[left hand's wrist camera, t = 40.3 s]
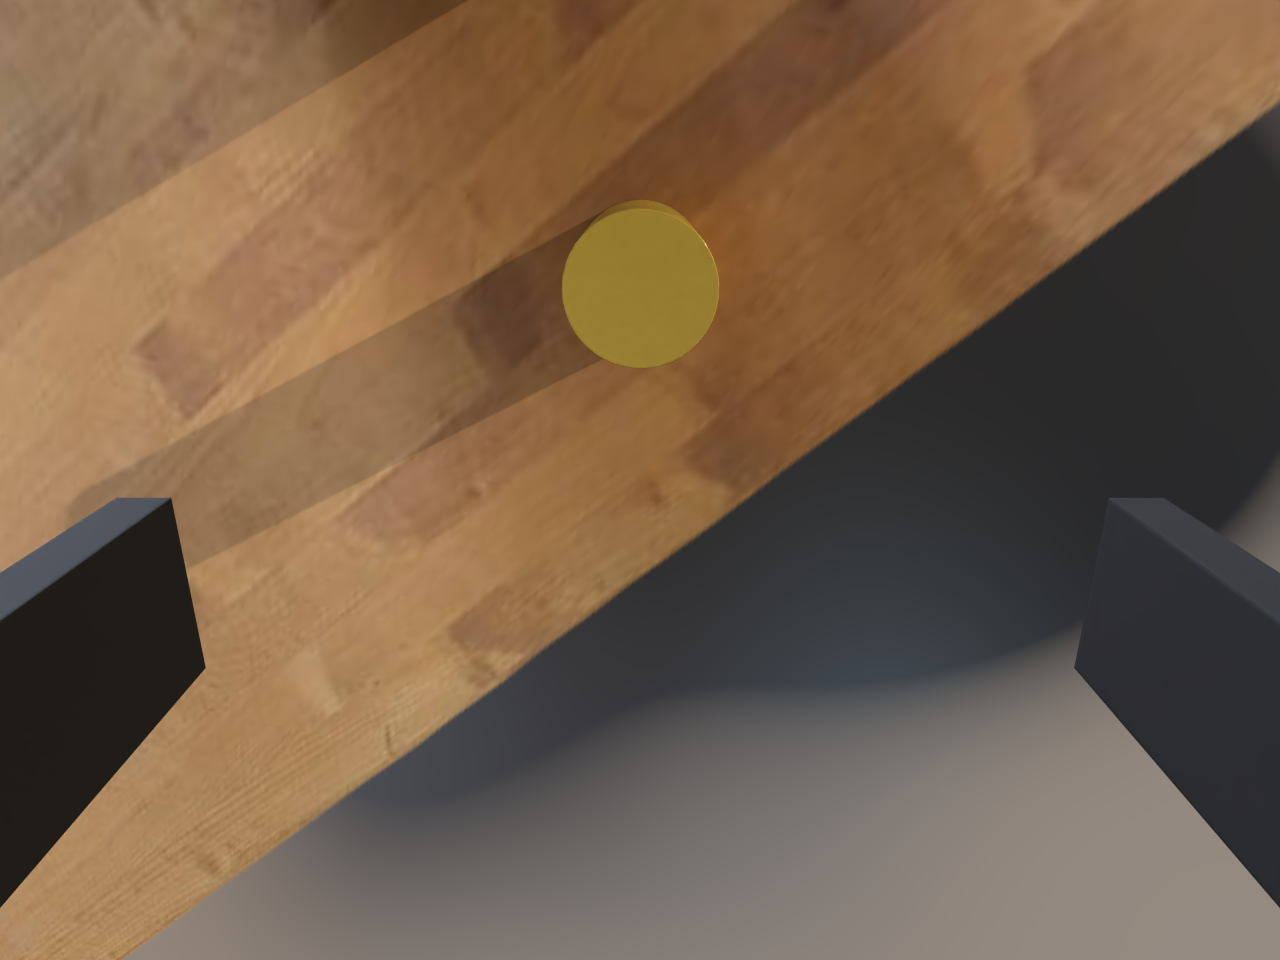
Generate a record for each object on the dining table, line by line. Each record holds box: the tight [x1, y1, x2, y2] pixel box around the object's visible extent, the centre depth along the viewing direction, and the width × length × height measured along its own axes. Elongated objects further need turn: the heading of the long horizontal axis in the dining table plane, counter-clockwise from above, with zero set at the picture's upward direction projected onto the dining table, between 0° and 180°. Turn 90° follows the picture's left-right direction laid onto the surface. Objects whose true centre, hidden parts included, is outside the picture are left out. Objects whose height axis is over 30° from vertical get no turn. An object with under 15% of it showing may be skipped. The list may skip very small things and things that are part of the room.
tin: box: [562, 200, 719, 368], centre depth 45 cm, size 7×7×9 cm
